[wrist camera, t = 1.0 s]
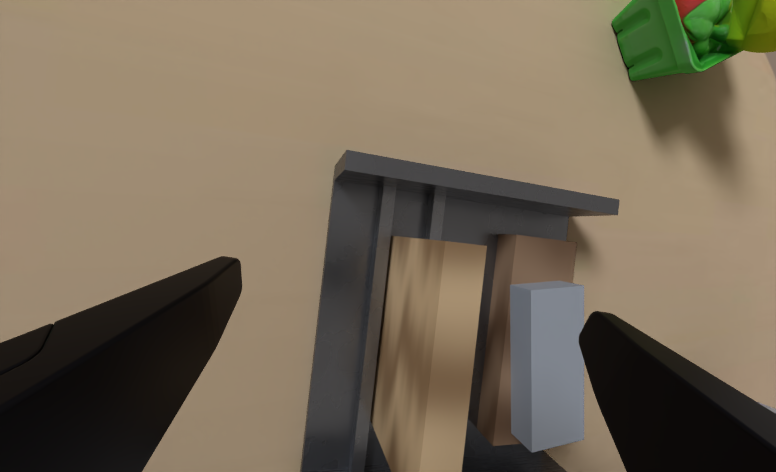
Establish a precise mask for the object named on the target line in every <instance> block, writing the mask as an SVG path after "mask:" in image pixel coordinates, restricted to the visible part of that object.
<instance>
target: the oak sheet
mask: <svg viewBox="0 0 776 472" xmlns="http://www.w3.org/2000/svg"><path fill="white" fill-rule="evenodd" d="M486 250H487V246H484V245H475V244H466V243H458V242H449V241H439V240H429V239H419V238H409V237H399V236H391V238H390V247H389V256H388V265H387V274H386V282H385V291H384V300H383V309H382V318H381V327H380V336H379V344H378V353H377V362H376V371H375V380H374V389H373V397H372V406H371V415H370V421H371V423H372V426H373V428H374V431H375V433H376V436H377V438H378V440H379V443H380V445H381V448H382V450H383V453H384V455H385V457H386V460H387V462H388V465H389V467H390V470H391V472H462V464H463V455H464V446H465V437H466V429H467V420H468V411H469V402H470V393H471V384H472V375H473V366H474V357H475V348H476V339H477V331H478V322H479V313H480V304H481V295H482V286H483V277H484V268H485V259H486Z"/></svg>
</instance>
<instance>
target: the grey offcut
mask: <svg viewBox="0 0 776 472" xmlns="http://www.w3.org/2000/svg"><path fill="white" fill-rule="evenodd" d="M583 327H584V285H579V284H574V283H569V282H564V281H549V282H537V283H525V284H513V285H510V343H511V434H513V435H514V436H515V437H516V438H517V439H518V440H519V441H520V442H521V443H522V444H523V445H524V446H525V447H526V448H527V449H529V450H530V451H531V452H532V453H533V452H537V451H541V450H545V449H549V448H553V447H557V446H561V445H564V444H568V443H572V442H576V441H580V440H584V359H583V356H582V352H581V349H580V346H579V334H580V332H581V330H582V329H583Z"/></svg>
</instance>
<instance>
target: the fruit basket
mask: <svg viewBox="0 0 776 472" xmlns="http://www.w3.org/2000/svg"><path fill="white" fill-rule="evenodd" d="M612 25H613V28H614V30H615V31H616V33H618V34H617V40H618V44H619V47H620V50H621V53H622V56H623V59H624V62H625V64H626V65H627V67H629V70H628V71H629V77H630V80H632V81H636V80H642V79H648V78H653V77H659V76H665V75H671V74H677V73H685V74H688V73H696V72H703V71H705V70H707V69H708V68H710V67H712V66H714V65H716V64H718V63H720V62H722V61H724V60H726V59H728V58H730V57H732V56H733V55H736V54H737V53H739V52H741V51H743V50H745V51H749V52H756V53H765V52H774V51H776V0H632V1H631V2H630V3H629V4H628V5H627V6H626V7H625V8H624V9H623V10H622V11H621V12H620V13H619V14H618V15H617V16H616V17H615V18H614V19H613V21H612Z"/></svg>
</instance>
